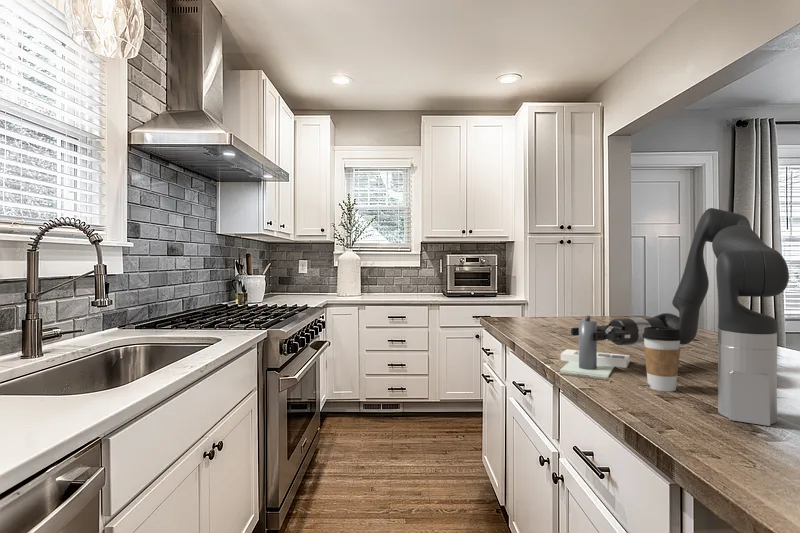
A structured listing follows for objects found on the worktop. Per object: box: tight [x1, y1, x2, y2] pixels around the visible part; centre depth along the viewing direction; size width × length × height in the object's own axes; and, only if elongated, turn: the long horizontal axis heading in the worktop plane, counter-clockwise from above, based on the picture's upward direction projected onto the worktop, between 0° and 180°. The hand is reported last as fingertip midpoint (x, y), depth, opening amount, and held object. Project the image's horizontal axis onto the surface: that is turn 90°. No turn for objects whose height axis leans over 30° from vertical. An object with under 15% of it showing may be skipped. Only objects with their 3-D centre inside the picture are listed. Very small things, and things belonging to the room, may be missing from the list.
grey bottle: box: [578, 315, 598, 370], centre depth 122 cm, size 5×5×14 cm
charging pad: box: [559, 361, 615, 382], centre depth 122 cm, size 12×12×2 cm
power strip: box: [560, 348, 630, 369], centre depth 130 cm, size 8×24×3 cm, turn 57°
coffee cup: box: [642, 327, 682, 393], centre depth 107 cm, size 8×8×15 cm
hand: (581, 334), depth 121 cm, fingers open, 8 cm apart
